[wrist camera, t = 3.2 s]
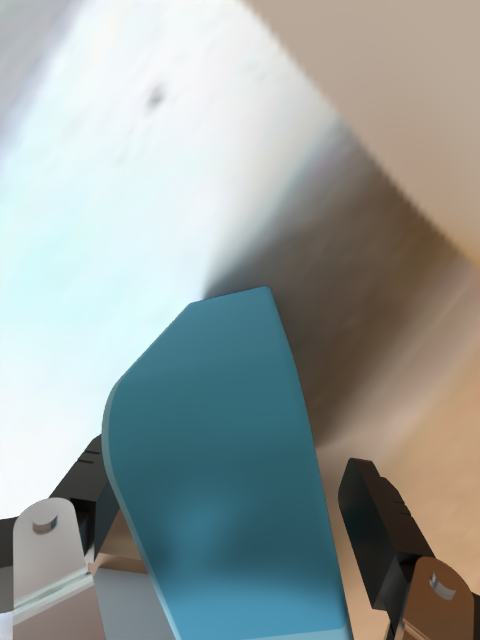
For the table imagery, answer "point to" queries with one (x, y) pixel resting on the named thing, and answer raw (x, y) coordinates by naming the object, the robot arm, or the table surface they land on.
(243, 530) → the data package
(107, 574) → the tower top block
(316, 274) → the table surface
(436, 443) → the table surface
